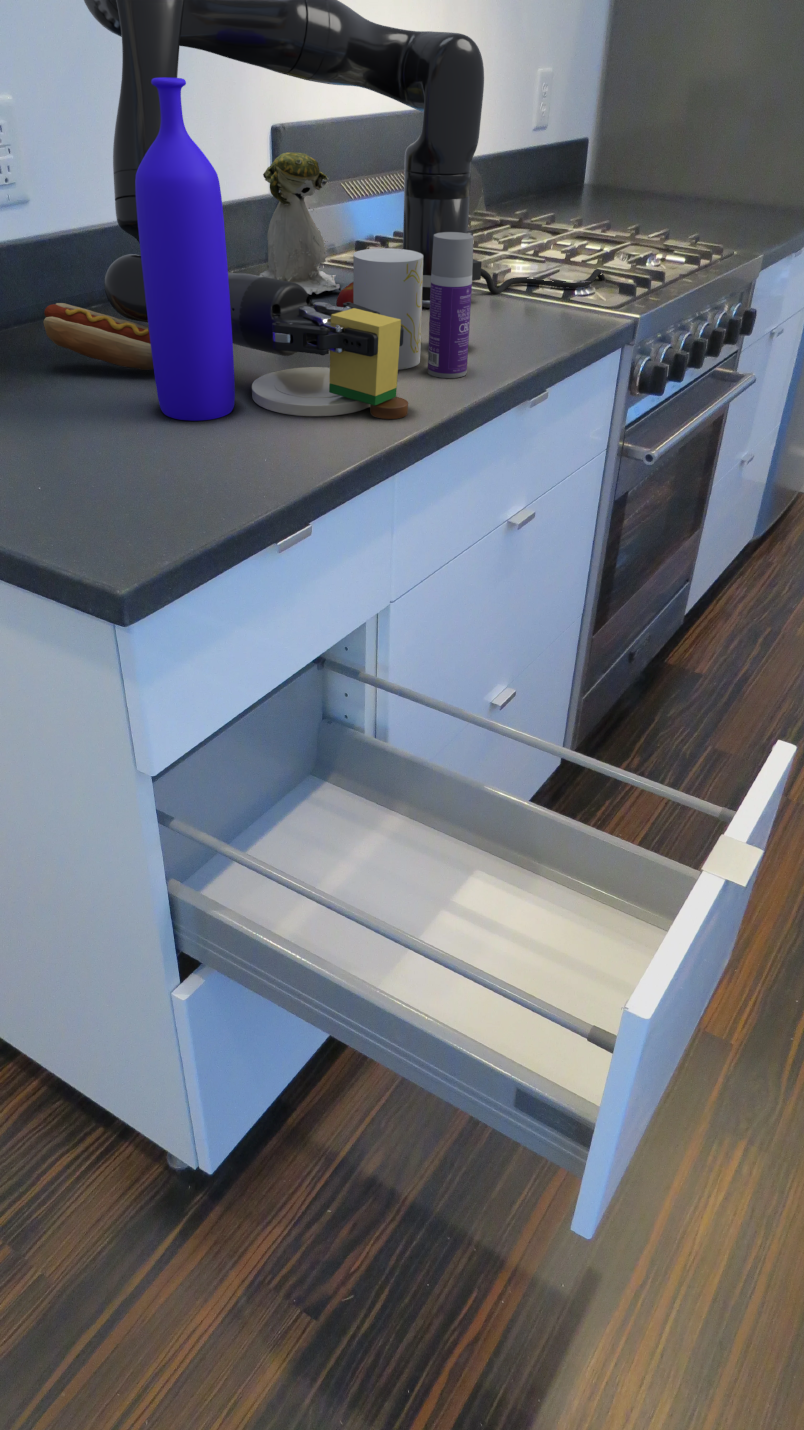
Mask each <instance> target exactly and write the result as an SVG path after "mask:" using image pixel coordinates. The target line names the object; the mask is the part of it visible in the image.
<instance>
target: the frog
mask: <svg viewBox="0 0 804 1430" xmlns="http://www.w3.org/2000/svg"><path fill="white" fill-rule="evenodd" d="M262 176H263V178H264V181H265V182H267V183H269V192H270V194H271V195H272V197H273V198H274V199H275V200H276V201H278V203H277V206H276V208H275V210H274V211H273V214H272V216H271V218H270V221H269V225H268V229H267V230H268V231H267V235H266V239H267V258H268V259H267V260H268V264H267V265H266V267H267V268H268V269H265V270H264V271H263V272H260V273H259V276H262V277H267V278H272V279H278V280H283V281H288V282H293V283H297V284H299V285H300V286H302V287H303V288H304V289H305V291H306V292H307V294H308V295H312V294H316V295H319V294H322V293H323V292H326V291H328V292H331V291H334V290H339V291H340V292H341V291H342V288H341V286H340V283H336V281H335V278H336V276H337V275H336V274H332V275H331V274H327V273H326V272H324V271H322V270H320V268H321V266H320V265H321V264H325V263H326V262H327V260H326V259H327V257H328V256H327V254H326V253H327V252H328V246H327V245H326V243H327V242H328V241H327V240H326V239H325V238H324V237H323V235H322V233H321V231H320V229H319V228H318V226H317V225H316V222H315V221H314V219H313V218H312V216H311V214H310V212H309V210H310V209H311V208H310V207H307V205H306V202H305V198H306V197H308V196H309V197H311V196H314V195H315V190H318V191H321V189H322V188H323V187H324V186H326V184H327V183H328V181H329V180H330V178H328V176H327V174H325V173H323V172H322V171H320V167H319V162H318V161H317V160H316V159H315V158H313V157H312V156H310V155H308V154H306V153H303V152H291V151H289V152H283V153H281V154H280V155H279V156H277V157H276V158H275V159H274V161H272V163H271V164H270V165H269V166H267V168H266V169H265V171H264V172H263V174H262ZM312 210H313V211H315V209H312ZM313 211H311V213H313ZM315 212H316V213H317V211H315ZM322 269H325V266H324V265H322Z"/></svg>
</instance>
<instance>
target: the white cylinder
mask: <svg viewBox="0 0 804 1430" xmlns="http://www.w3.org/2000/svg"><path fill="white" fill-rule="evenodd" d="M352 257H353V258H352V260H353V265H352V266H353V269H352V270H353V271H352V272H353V278H352V279H353V281H352V282H353V284H354V304H356V305H359V306H362V307H365V308H368V309H371V310H374V311H377V312H379V313H380V315H384V316H388V317H392V318H396V319H401V325H402V326H403V329H404V334H403V345H402V346H400V347H399V360H398V371H399V370H406V369H411V368H414V367H416V366H418V365H420V363H421V345H422V343H421V342H422V341H421V339H422V316H423V315H422V313H423V307H422V284H423V255H422V254H421V253H419V252H416V251H411V250H405V249H403V248H393V247H392V248H391V247H390V248H389V247H387V248H386V247H384V248H383V247H379V248H366V249H361V250H357V251H355V252H353V254H352Z"/></svg>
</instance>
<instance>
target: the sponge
mask: <svg viewBox="0 0 804 1430" xmlns="http://www.w3.org/2000/svg"><path fill="white" fill-rule="evenodd" d="M331 323H334V324H340V325H342V326H344V331H345V328H348V327H349V328H353V329H358V330H363V331H368V332H372V333H376V334H377V336H378V353H377V354H376V355H374V356H372V357H370V356H365V355H361V354H356V353H352V352H347V351H344V352H341V353H336V352H333V351H331V350H329V368H330V377H329V392H330V393H333V394H337V395H340V396H343V397H347V398H350V399H354V400H357V401H361V402H364V403H368V404H371V405H374V406H375V405H378V404H380V403H382V402H385V401H387V400H390V399H392V398H394V397H397V388H398V372H399V370H398V360H399V343H400V329H401V319H396V318H392V317H388V316H384V315H380V314H376V313H372V312H368V311H364V310H360V309H356V308H353V309H349V310H346V311H342V312H339V313H336V314H332V315H331Z"/></svg>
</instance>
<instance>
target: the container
mask: <svg viewBox="0 0 804 1430" xmlns="http://www.w3.org/2000/svg"><path fill="white" fill-rule="evenodd" d="M474 238H475V237H474V234H473V235H471V234H467V233H459V232H442V233H436V234H434V239H433V255H432V272H431V290H430V308H429V321H428V346H427V348H428V350H427V373H428V375H430V376H432V377H436V378H440V379H456V378H462V377H465V376H466V375H467V372H468V360H469V359H468V355H469V343H470V342H469V341H470V325H471V308H472V293H473V292H472V289H473V281H472V267H473V259H474Z"/></svg>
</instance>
